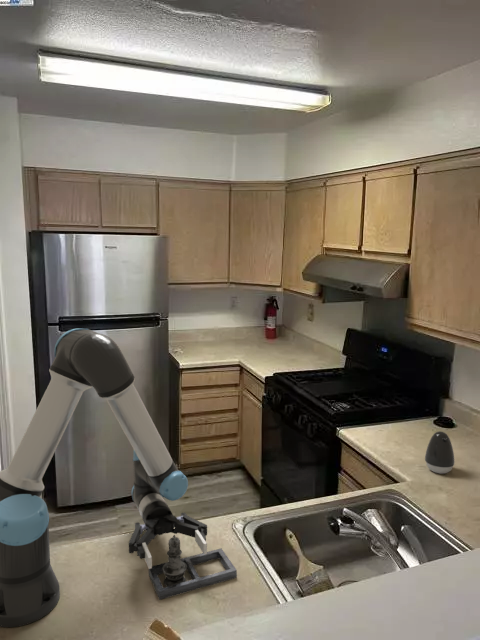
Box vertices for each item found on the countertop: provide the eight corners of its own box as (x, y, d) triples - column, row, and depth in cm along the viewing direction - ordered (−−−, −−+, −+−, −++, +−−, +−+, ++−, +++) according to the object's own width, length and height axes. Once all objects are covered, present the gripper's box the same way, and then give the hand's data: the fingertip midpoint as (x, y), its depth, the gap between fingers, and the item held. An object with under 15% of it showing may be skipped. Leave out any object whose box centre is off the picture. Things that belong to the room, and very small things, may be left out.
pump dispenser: (431, 477, 175) (433, 436, 173) (420, 465, 186) (421, 427, 184) (459, 476, 176) (461, 436, 174) (446, 464, 186) (448, 426, 184)
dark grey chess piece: (187, 573, 121) (187, 527, 119) (186, 588, 115) (185, 541, 113) (164, 573, 120) (163, 528, 119) (161, 589, 115) (160, 541, 113)
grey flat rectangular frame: (159, 600, 111) (159, 591, 111) (148, 574, 120) (148, 567, 120) (236, 577, 119) (236, 570, 119) (221, 555, 128) (221, 548, 128)
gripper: (198, 516, 138) (227, 557, 119) (109, 536, 128) (125, 584, 109) (198, 491, 138) (227, 529, 118) (109, 509, 127) (124, 553, 108)
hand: (178, 555), depth 114 cm, fingers open, 13 cm apart
